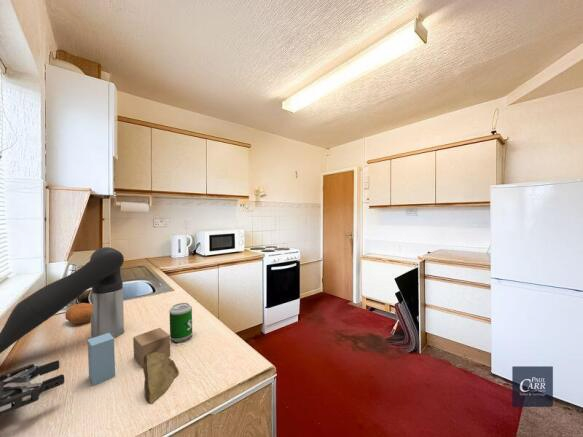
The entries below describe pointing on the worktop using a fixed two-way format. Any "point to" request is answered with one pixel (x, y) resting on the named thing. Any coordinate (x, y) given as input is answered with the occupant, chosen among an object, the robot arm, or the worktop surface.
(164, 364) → the rock
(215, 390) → the worktop surface
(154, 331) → the walnut block
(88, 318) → the potato
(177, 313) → the soda can
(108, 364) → the blue block
